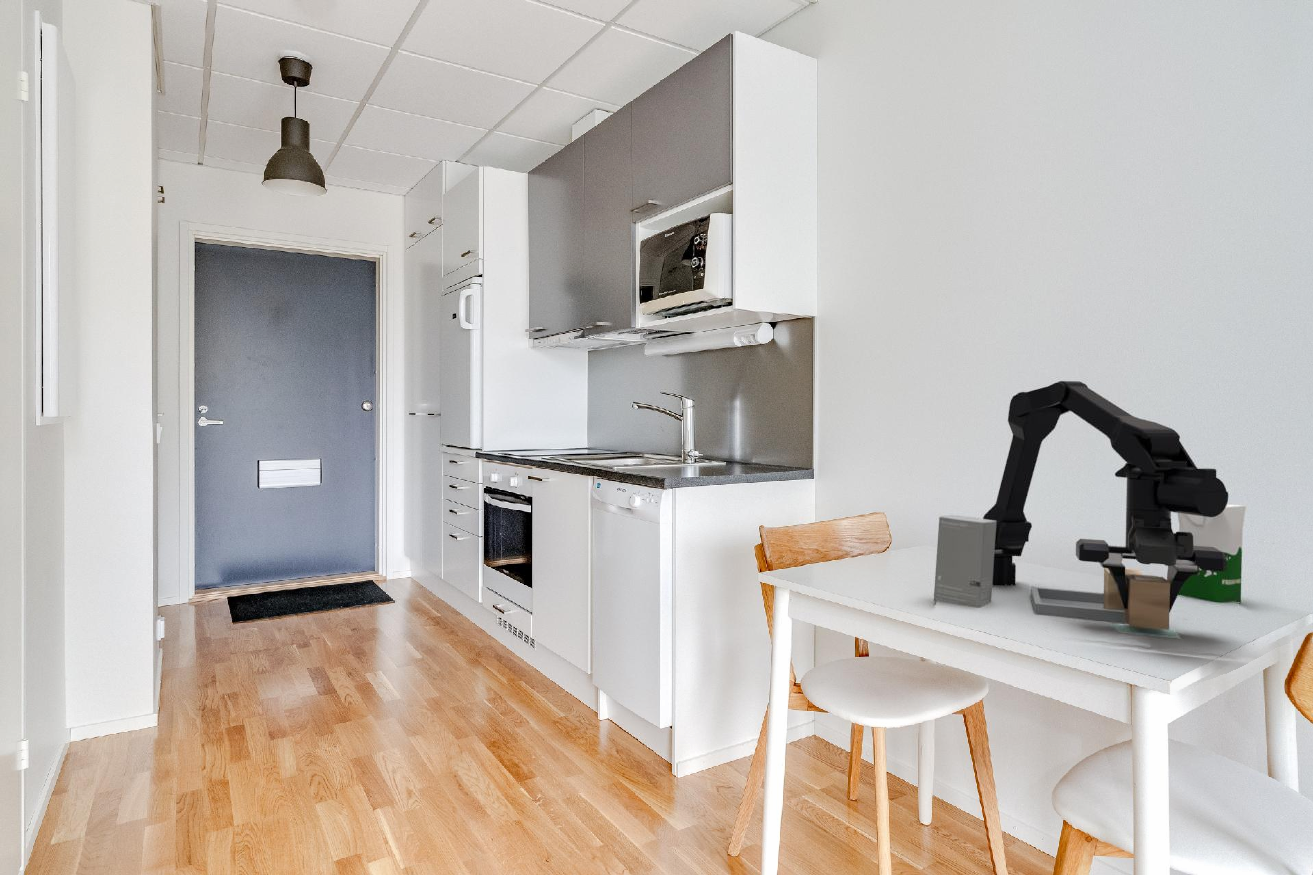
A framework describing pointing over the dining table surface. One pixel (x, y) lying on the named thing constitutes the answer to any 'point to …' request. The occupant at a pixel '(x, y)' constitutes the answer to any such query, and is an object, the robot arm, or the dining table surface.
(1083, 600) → the tray
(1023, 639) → the dining table surface
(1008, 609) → the dining table surface
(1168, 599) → the walnut box
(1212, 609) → the dining table surface
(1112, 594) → the oak box
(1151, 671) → the dining table surface
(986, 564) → the skincare box
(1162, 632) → the teal pad
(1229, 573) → the milk carton
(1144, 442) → the robot arm
